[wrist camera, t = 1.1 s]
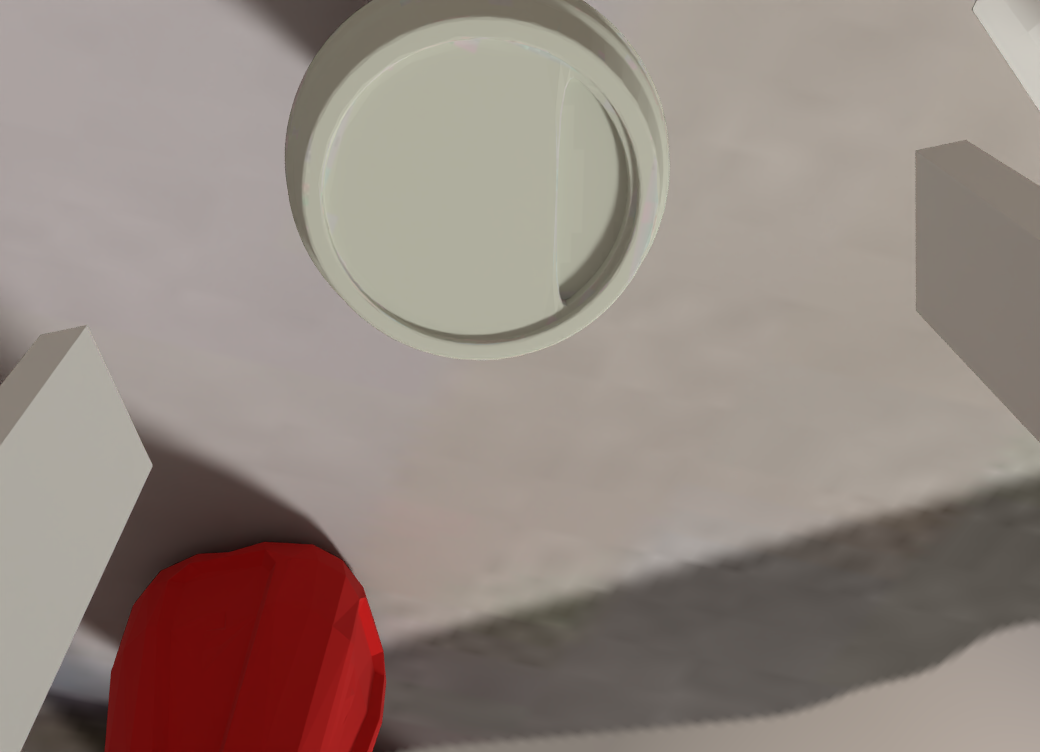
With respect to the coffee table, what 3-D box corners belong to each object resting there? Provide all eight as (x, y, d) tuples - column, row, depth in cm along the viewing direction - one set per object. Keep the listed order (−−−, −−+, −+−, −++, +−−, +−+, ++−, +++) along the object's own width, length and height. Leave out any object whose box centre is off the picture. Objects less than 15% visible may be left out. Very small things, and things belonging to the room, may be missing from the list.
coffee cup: (510, 249, 34) (542, 441, 24) (281, 118, 31) (202, 269, 21) (658, 28, 31) (770, 135, 20) (417, -139, 28) (403, -115, 18)
